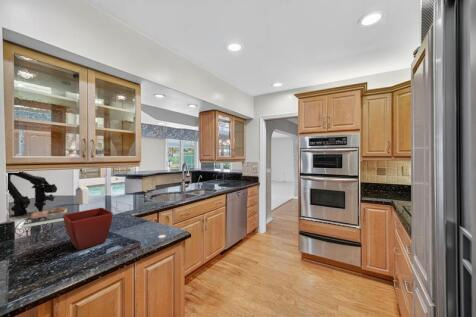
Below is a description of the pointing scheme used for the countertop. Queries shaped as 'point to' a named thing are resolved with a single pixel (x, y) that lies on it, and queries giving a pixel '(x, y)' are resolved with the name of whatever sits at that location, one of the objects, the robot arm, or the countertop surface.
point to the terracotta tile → (39, 214)
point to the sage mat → (42, 222)
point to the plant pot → (88, 227)
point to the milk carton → (82, 195)
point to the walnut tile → (57, 210)
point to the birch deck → (50, 213)
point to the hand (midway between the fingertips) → (41, 212)
